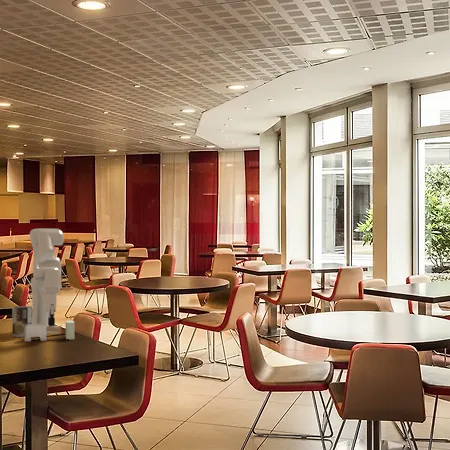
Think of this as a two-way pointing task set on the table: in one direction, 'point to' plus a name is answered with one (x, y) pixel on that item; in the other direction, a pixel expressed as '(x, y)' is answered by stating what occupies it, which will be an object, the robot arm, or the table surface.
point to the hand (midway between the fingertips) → (51, 324)
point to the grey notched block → (35, 331)
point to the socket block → (70, 329)
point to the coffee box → (20, 320)
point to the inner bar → (54, 329)
